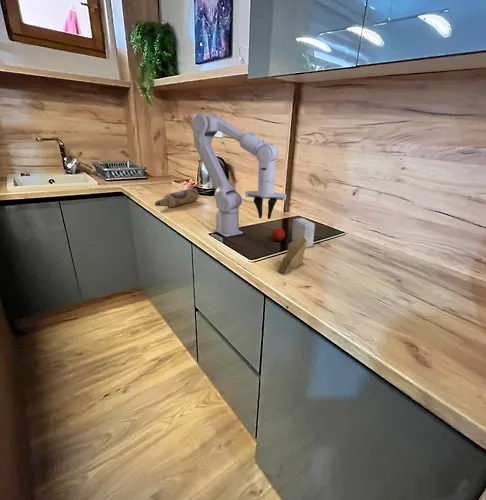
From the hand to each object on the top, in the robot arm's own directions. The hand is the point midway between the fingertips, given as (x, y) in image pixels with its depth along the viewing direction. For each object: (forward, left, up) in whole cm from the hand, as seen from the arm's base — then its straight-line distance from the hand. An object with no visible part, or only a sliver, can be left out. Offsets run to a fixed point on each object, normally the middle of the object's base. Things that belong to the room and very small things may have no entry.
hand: (264, 217), depth 112 cm
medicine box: (+11, +9, -9) cm, 17 cm away
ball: (+4, +3, -6) cm, 8 cm away
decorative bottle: (-62, -9, -9) cm, 64 cm away
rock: (+23, -8, -9) cm, 26 cm away
